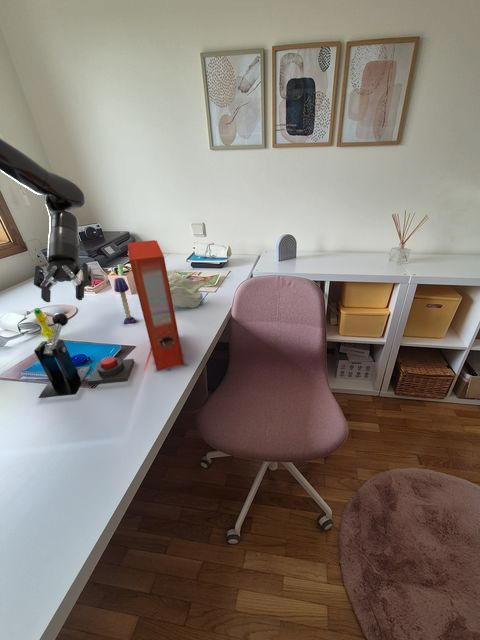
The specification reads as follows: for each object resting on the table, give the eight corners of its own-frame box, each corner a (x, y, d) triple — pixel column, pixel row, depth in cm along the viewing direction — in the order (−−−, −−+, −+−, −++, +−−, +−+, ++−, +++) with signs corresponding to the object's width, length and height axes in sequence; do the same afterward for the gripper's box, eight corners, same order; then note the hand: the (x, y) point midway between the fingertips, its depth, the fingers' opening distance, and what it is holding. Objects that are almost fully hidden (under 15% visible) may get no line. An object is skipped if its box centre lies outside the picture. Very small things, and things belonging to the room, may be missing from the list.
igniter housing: (89, 387, 81) (84, 376, 79) (100, 367, 88) (95, 356, 86) (128, 384, 82) (124, 372, 80) (135, 364, 89) (131, 353, 87)
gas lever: (58, 319, 84) (51, 310, 81) (71, 318, 84) (65, 309, 81) (46, 359, 77) (38, 352, 74) (61, 358, 77) (54, 351, 74)
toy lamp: (132, 317, 115) (119, 275, 106) (140, 320, 113) (128, 277, 104) (121, 323, 111) (108, 280, 102) (130, 326, 109) (117, 282, 100)
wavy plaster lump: (192, 315, 130) (201, 280, 128) (198, 320, 119) (208, 282, 116) (149, 305, 123) (157, 267, 120) (151, 310, 111) (160, 268, 108)
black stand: (59, 372, 87) (41, 334, 80) (92, 369, 88) (76, 331, 81) (40, 400, 77) (16, 360, 70) (77, 397, 78) (57, 356, 71)
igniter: (101, 369, 81) (98, 364, 80) (104, 362, 84) (103, 357, 83) (114, 368, 82) (112, 363, 81) (118, 361, 85) (116, 355, 84)
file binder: (176, 336, 103) (156, 239, 85) (185, 364, 89) (163, 255, 71) (151, 341, 100) (126, 242, 82) (157, 370, 87) (127, 260, 69)
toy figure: (47, 336, 104) (31, 304, 98) (58, 334, 105) (44, 302, 99) (45, 345, 99) (28, 313, 92) (57, 343, 100) (42, 310, 94)
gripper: (28, 241, 82) (26, 297, 79) (83, 239, 84) (83, 293, 81) (45, 255, 90) (44, 307, 87) (95, 253, 91) (95, 303, 88)
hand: (62, 300), depth 84 cm, fingers open, 8 cm apart
